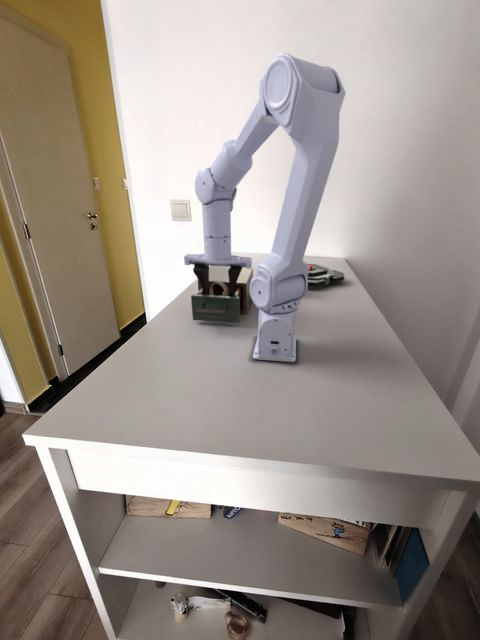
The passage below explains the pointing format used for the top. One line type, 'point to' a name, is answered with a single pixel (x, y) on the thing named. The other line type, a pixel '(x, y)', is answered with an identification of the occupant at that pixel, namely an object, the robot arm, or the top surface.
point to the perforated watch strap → (226, 292)
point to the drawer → (217, 305)
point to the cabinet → (222, 275)
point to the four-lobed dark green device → (322, 275)
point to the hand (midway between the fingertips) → (219, 297)
